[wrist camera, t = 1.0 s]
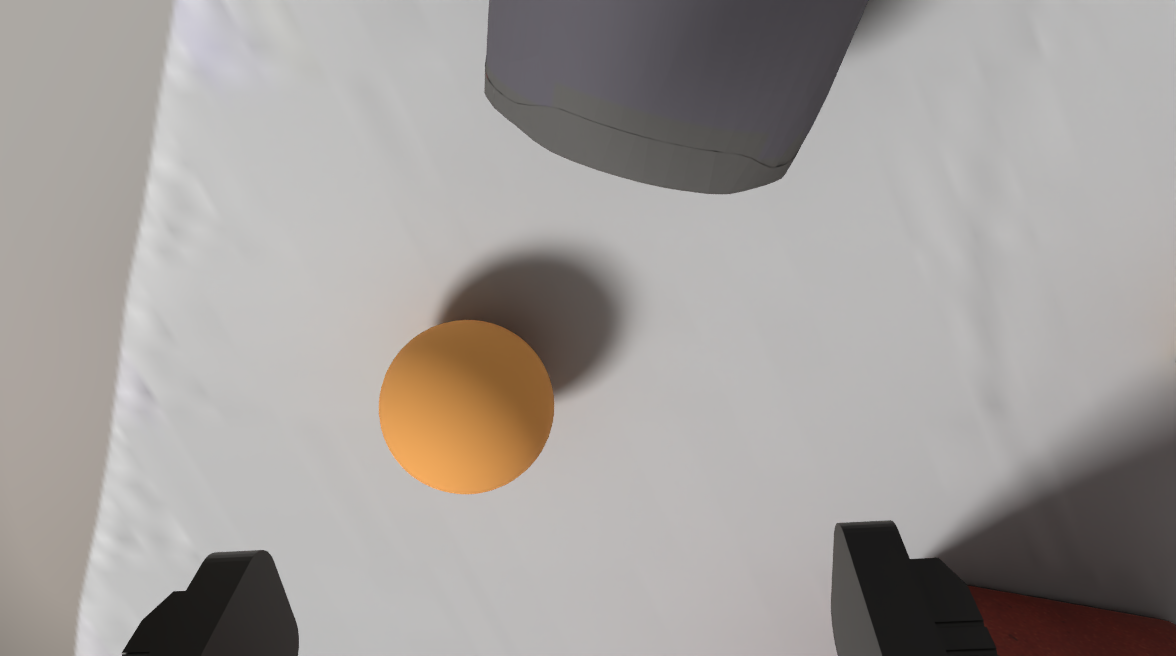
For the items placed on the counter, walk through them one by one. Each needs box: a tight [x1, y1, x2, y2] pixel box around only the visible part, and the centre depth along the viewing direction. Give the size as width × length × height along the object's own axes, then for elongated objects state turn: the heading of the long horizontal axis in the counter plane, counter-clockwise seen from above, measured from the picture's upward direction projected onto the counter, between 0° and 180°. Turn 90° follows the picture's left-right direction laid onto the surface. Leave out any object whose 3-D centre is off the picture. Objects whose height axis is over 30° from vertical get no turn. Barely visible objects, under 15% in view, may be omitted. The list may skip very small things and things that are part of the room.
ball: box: [379, 320, 554, 494], centre depth 30 cm, size 6×6×6 cm
